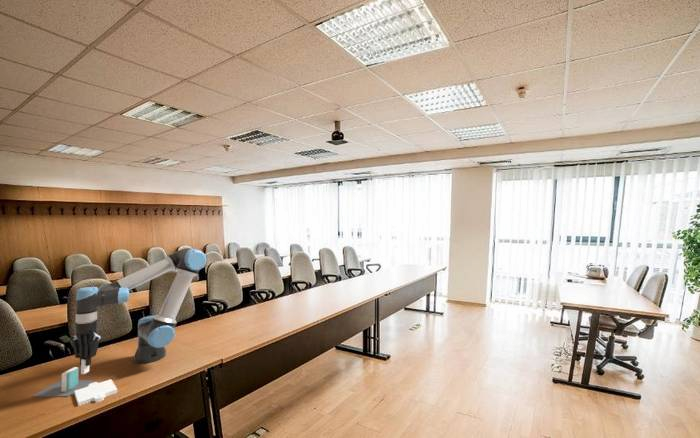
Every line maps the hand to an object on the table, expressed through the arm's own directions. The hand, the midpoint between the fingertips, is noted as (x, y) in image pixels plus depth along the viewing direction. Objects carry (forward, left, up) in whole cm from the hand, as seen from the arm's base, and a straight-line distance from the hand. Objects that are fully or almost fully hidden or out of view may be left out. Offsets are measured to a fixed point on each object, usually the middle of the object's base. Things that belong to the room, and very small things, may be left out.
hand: (85, 372), depth 136 cm
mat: (+10, 0, -7) cm, 12 cm away
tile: (+7, 0, -7) cm, 10 cm away
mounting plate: (-8, +4, -8) cm, 12 cm away
